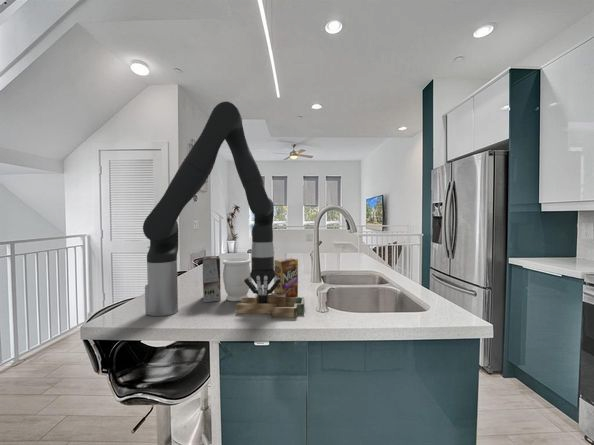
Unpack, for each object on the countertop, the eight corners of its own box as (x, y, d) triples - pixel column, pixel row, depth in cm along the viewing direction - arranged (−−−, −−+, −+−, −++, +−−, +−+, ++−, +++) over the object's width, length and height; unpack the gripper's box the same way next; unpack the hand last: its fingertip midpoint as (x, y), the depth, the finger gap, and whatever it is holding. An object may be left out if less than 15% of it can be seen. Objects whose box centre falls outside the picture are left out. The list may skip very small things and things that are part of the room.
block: (269, 311, 105) (269, 296, 105) (271, 307, 110) (271, 292, 110) (284, 311, 105) (284, 296, 105) (286, 307, 110) (285, 292, 110)
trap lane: (233, 317, 100) (233, 307, 100) (244, 302, 116) (244, 294, 116) (303, 317, 99) (303, 308, 99) (304, 302, 115) (304, 294, 115)
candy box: (281, 303, 115) (280, 261, 115) (273, 300, 118) (273, 260, 118) (298, 298, 121) (298, 258, 121) (291, 296, 124) (290, 257, 124)
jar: (236, 294, 129) (236, 257, 129) (256, 297, 124) (256, 259, 123) (217, 300, 120) (216, 260, 119) (238, 304, 115) (237, 262, 114)
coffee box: (221, 301, 119) (220, 258, 118) (203, 302, 117) (202, 259, 116) (219, 295, 128) (218, 255, 127) (203, 296, 126) (202, 256, 125)
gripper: (240, 256, 104) (241, 308, 104) (281, 256, 103) (281, 309, 104) (245, 253, 111) (246, 302, 112) (283, 253, 111) (283, 302, 111)
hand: (263, 305), depth 108 cm, fingers closed
